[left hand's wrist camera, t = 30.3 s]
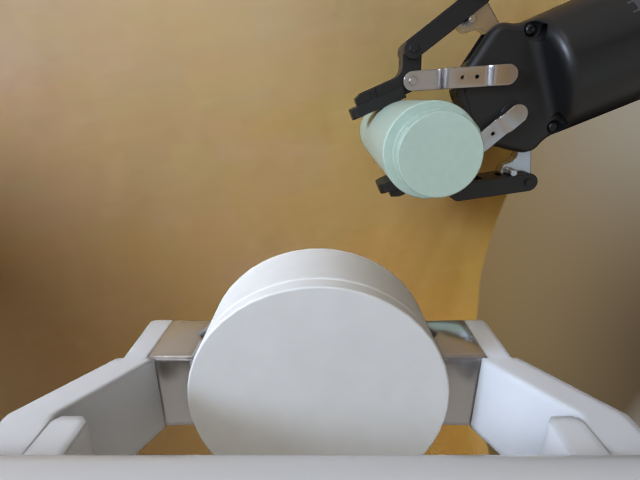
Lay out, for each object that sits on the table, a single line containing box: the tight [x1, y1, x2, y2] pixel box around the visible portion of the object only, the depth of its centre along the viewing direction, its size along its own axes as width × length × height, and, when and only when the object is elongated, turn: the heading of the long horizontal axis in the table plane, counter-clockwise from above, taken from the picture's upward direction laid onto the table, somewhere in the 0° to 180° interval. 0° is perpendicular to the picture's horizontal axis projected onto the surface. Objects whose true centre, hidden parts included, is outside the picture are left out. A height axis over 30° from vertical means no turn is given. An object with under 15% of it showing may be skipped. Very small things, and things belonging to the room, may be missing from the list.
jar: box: [360, 100, 484, 198], centre depth 26 cm, size 5×5×17 cm
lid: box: [188, 248, 449, 455], centre depth 9 cm, size 5×5×2 cm
